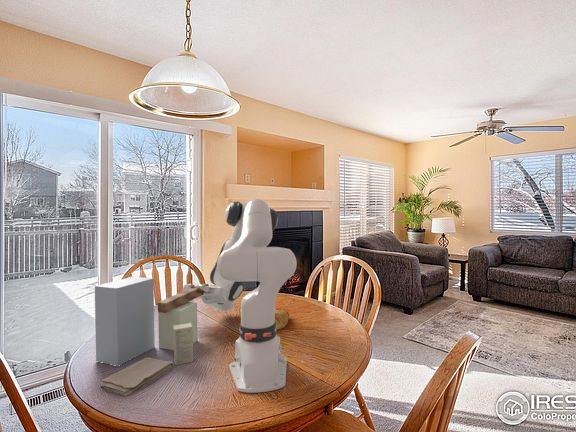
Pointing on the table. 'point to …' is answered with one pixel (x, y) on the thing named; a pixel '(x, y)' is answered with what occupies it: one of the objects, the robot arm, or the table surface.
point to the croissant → (281, 318)
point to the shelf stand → (124, 319)
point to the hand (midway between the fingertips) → (194, 286)
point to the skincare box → (183, 343)
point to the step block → (176, 323)
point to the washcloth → (136, 376)
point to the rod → (180, 299)
